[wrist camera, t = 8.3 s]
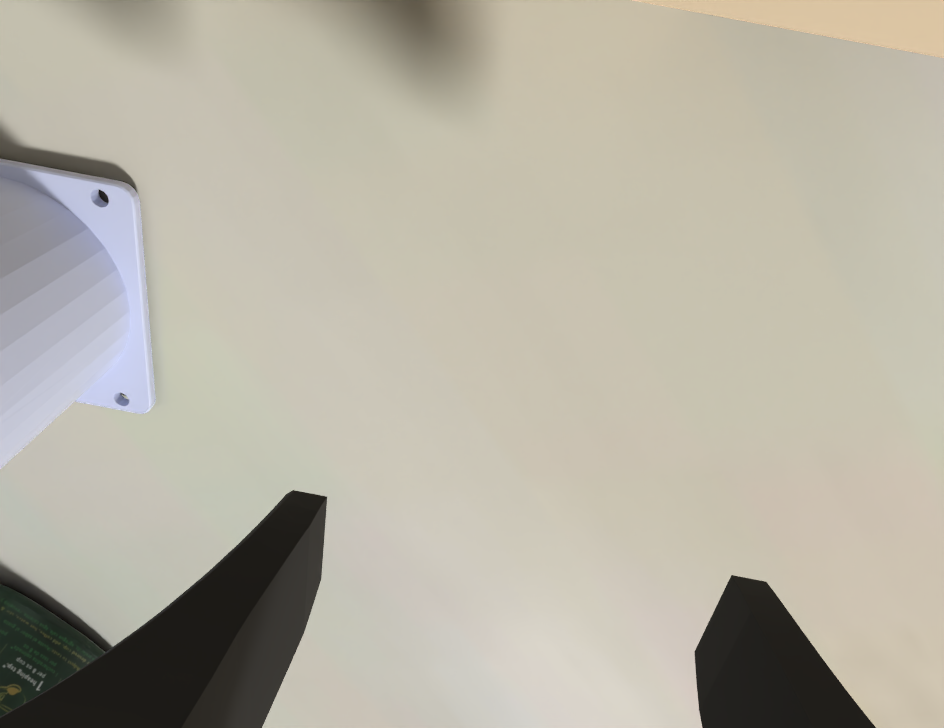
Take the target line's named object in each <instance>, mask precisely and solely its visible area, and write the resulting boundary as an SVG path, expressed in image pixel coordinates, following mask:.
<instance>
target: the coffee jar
mask: <svg viewBox="0 0 944 728" xmlns="http://www.w3.org/2000/svg"><path fill="white" fill-rule="evenodd" d="M104 653H105V651H103V650H102V649H101V648H99V647H98V646H97V645H96V644H95V643H94V642H93V641H91V640H90V639H88V638H87V637H86V636H85V635H83V634H82V633H80V632H79V631H78V630H76V629H75V628H73V627H72V626H70V625H69V624H67V623H66V622H65V621H63V620H62V619H60V618H59V617H57V616H56V615H55V614H53V613H52V612H50V611H48V610H47V609H45V608H44V607H42V606H41V605H39V604H37V603H36V602H34V601H33V600H31V599H29V598H27V597H25V596H24V595H22V594H21V593H19V592H17V591H15V590H13V589H11V588H9V587H7V586H4V585H1V584H0V716H2V715H4V714H6V713H8V712H9V711H11V710H13V709H15V708H16V707H18V706H20V705H22V704H23V703H25V702H27V701H29V700H31V699H32V698H34V697H36V696H38V695H39V694H41V693H43V692H44V691H46V690H48V689H49V688H51V687H53V686H54V685H56V684H57V683H59V682H61V681H62V680H64V679H65V678H67V677H69V676H70V675H72V674H73V673H75V672H76V671H78V670H79V669H81V668H82V667H84V666H85V665H87V664H88V663H90V662H91V661H93V660H94V659H96V658H98V657H99V656H101V655H102V654H104Z"/></svg>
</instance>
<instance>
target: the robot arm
mask: <svg viewBox="0 0 944 728" xmlns="http://www.w3.org/2000/svg"><path fill="white" fill-rule="evenodd" d="M99 190H101V191H104V192H105V194H106V195H107V196H108V199H109V203H106V202H104V201H103V200H102V199H101V198H100V196H99V193H98V192H99ZM121 393H123V394H125V395H126V396H127V397H128V399H129V400H128V399H125V398H124V397H123V396H122V395H121ZM155 400H156V398H155V386H154V373H153V360H152V348H151V335H150V322H149V310H148V297H147V285H146V272H145V259H144V247H143V234H142V222H141V209H140V200H139V196H138V194H137V192H136V191H135V189H134V188H133V187H131V186H130V185H129V184H127V183H125V182H122V181H117V180H112V179H106V178H101V177H96V176H91V175H85V174H80V173H75V172H69V171H64V170H59V169H54V168H48V167H43V166H38V165H32V164H27V163H22V162H17V161H11V160H6V159H1V158H0V469H1V468H2V467H4V466H5V465H6V464H7V463H8V462H9V461H10V460H11V459H12V458H13V457H14V456H16V455H17V454H18V453H19V452H20V451H21V450H22V449H23V448H24V447H25V446H26V445H28V444H29V443H30V442H31V441H32V440H33V439H34V438H35V437H36V436H37V435H38V434H40V433H41V432H42V431H43V430H44V429H45V428H46V427H47V426H48V425H49V424H50V423H52V422H53V421H54V420H55V419H56V418H57V417H58V416H59V415H60V414H61V413H62V412H64V411H65V410H66V409H67V408H68V407H69V406H70V405H71V404H72V403H73V402H74V401H76V402H81V403H86V404H91V405H96V406H102V407H107V408H112V409H117V410H122V411H127V412H133V413H138V414H144V413H146V412H148V411H149V410H150V409H151V408H152V407H153V406H154V404H155ZM326 504H327V497H325V496H320V495H315V494H310V493H305V492H299V491H294V490H293V491H291V492H289V493H288V494H286V495H285V496H284V498H283V499H282V500H281V501H280V502H279V503H278V504H277V505H276V506H275V507H274V509H273V510H272V511H271V512H270V513H269V514H268V515H267V516H266V517H265V518H264V519H263V520H262V521H261V522H260V523H259V524H258V525H257V526H256V527H255V528H254V529H253V530H252V531H251V532H250V533H249V534H248V535H247V536H246V537H245V538H244V539H243V540H242V541H241V542H240V543H239V544H238V545H237V546H236V547H235V548H234V549H233V550H231V551H230V552H229V553H228V554H227V555H226V556H225V557H224V558H223V559H222V560H221V561H220V562H219V563H217V564H216V565H215V566H214V567H213V568H212V569H211V570H210V571H209V572H208V573H207V574H205V575H204V576H203V577H202V578H201V579H200V580H198V581H197V582H196V583H195V584H194V585H192V586H191V587H190V588H189V589H188V590H186V591H185V592H184V593H183V594H182V595H180V596H179V597H178V598H177V599H176V600H175V601H173V602H172V603H171V604H170V605H169V606H167V607H166V608H165V609H164V610H162V611H161V612H160V613H158V614H157V615H156V616H155V617H153V618H152V619H151V620H149V621H148V622H147V623H145V624H144V625H143V626H141V627H140V628H139V629H137V630H136V631H135V632H133V633H132V634H131V635H129V636H128V637H126V638H125V639H124V640H122V641H121V642H119V643H118V644H117V645H115V646H114V647H112V648H111V649H110V650H108V651H107V652H105V653H104V654H102V655H101V656H99V657H98V658H96V659H94V660H93V661H91V662H90V663H88V664H87V665H85V666H84V667H82V668H81V669H79V670H78V671H76V672H75V673H73V674H72V675H70V676H69V677H67V678H65V679H64V680H62V681H61V682H59V683H57V684H56V685H54V686H53V687H51V688H49V689H48V690H46V691H44V692H43V693H41V694H39V695H38V696H36V697H34V698H32V699H31V700H29V701H27V702H25V703H23V704H22V705H20V706H18V707H16V708H15V709H13V710H11V711H9V712H8V713H6V714H4V715H2V716H0V728H262V726H263V724H264V722H265V719H266V717H267V715H268V713H269V710H270V708H271V706H272V704H273V701H274V699H275V697H276V695H277V692H278V690H279V688H280V686H281V684H282V681H283V679H284V677H285V675H286V672H287V670H288V668H289V666H290V663H291V661H292V659H293V656H294V654H295V652H296V650H297V647H298V645H299V643H300V641H301V638H302V636H303V634H304V631H305V628H306V625H307V622H308V619H309V615H310V612H311V609H312V606H313V603H314V600H315V597H316V593H317V590H318V587H319V584H320V581H321V573H322V559H323V545H324V531H325V518H326ZM695 664H696V679H697V691H698V701H699V711H700V716H701V721H702V727H703V728H876V727H875V726H874V725H873V724H872V722H871V721H870V720H869V719H868V717H867V716H866V715H865V714H864V712H863V711H862V710H861V709H860V707H859V706H858V705H857V704H856V702H855V701H854V700H853V699H852V697H851V696H850V695H849V693H848V692H847V691H846V689H845V688H844V687H843V686H842V684H841V683H840V682H839V680H838V679H837V678H836V676H835V675H834V674H833V672H832V671H831V670H830V668H829V667H828V666H827V664H826V663H825V662H824V660H823V659H822V658H821V656H820V655H819V654H818V652H817V651H816V649H815V648H814V647H813V645H812V644H811V643H810V641H809V640H808V638H807V637H806V636H805V634H804V633H803V632H802V630H801V629H800V627H799V626H798V625H797V623H796V622H795V620H794V619H793V618H792V616H791V615H790V613H789V612H788V611H787V609H786V608H785V607H784V605H783V604H782V602H781V601H780V600H779V598H778V597H777V596H776V594H775V593H774V592H773V590H772V589H771V588H770V586H769V585H768V584H767V582H764V581H759V580H754V579H748V578H743V577H738V576H733V575H732V576H731V578H730V580H729V582H728V584H727V586H726V588H725V590H724V592H723V594H722V596H721V598H720V600H719V602H718V605H717V607H716V609H715V611H714V613H713V615H712V617H711V619H710V621H709V623H708V625H707V627H706V629H705V631H704V634H703V636H702V638H701V640H700V642H699V644H698V646H697V648H696V650H695Z"/></svg>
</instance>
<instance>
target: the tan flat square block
mask: <svg viewBox="0 0 944 728" xmlns="http://www.w3.org/2000/svg"><path fill="white" fill-rule="evenodd" d="M633 1H638V2H644V3H649V4H654V5H660V6H665V7H671V8H676V9H682V10H687V11H692V12H698V13H703V14H709V15H714V16H719V17H725V18H730V19H736V20H741V21H746V22H752V23H757V24H763V25H768V26H773V27H779V28H784V29H790V30H795V31H801V32H806V33H811V34H817V35H822V36H828V37H833V38H838V39H844V40H849V41H855V42H860V43H865V44H871V45H876V46H882V47H887V48H892V49H898V50H903V51H909V52H914V53H920V54H925V55H930V56H936V57H941V58H944V0H633Z"/></svg>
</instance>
